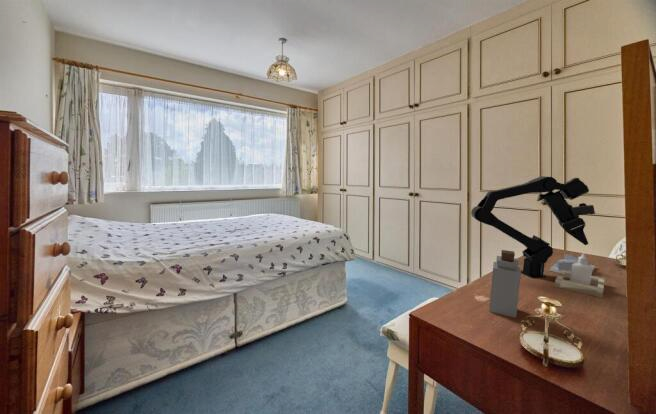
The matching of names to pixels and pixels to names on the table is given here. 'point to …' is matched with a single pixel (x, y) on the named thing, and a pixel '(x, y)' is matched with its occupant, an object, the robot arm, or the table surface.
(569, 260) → the silver tray
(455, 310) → the table surface
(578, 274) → the eye dropper bottle
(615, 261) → the table surface
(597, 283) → the beige square frame
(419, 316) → the table surface
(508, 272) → the perfume bottle
